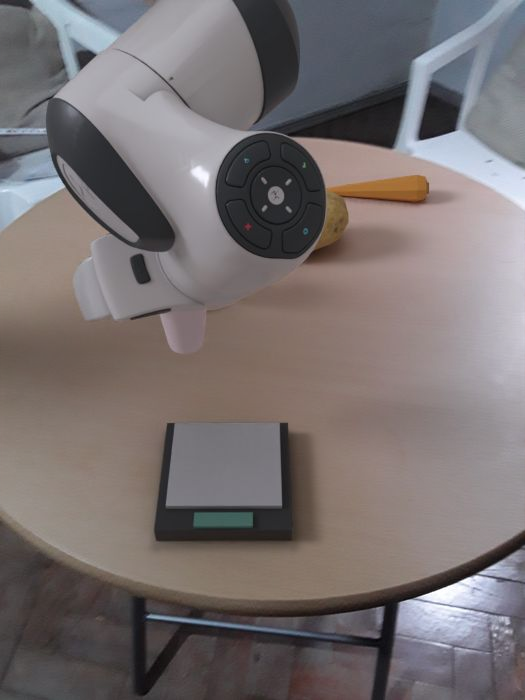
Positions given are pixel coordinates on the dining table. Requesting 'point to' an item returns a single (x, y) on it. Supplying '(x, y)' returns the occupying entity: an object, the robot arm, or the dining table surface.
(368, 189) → the carrot
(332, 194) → the potato
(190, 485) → the scale
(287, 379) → the dining table surface
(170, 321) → the smoothie
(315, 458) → the dining table surface
